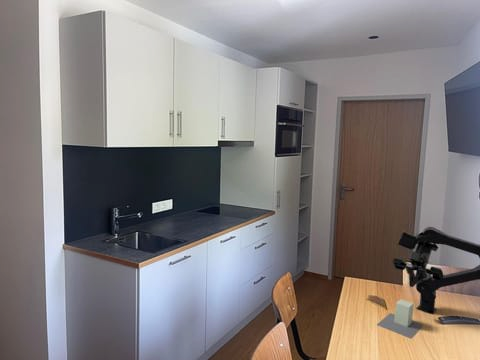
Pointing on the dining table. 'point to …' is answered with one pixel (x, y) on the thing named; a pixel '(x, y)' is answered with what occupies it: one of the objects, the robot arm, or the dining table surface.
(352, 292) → the dining table surface
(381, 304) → the shard
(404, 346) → the dining table surface
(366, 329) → the dining table surface
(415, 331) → the rubber mat
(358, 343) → the dining table surface
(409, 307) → the sage block
